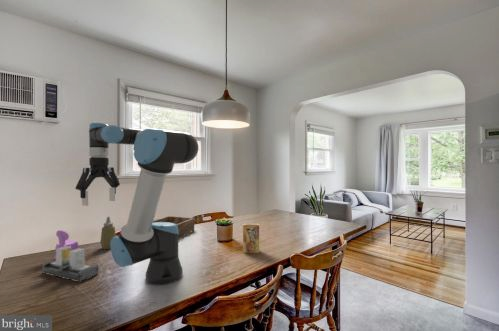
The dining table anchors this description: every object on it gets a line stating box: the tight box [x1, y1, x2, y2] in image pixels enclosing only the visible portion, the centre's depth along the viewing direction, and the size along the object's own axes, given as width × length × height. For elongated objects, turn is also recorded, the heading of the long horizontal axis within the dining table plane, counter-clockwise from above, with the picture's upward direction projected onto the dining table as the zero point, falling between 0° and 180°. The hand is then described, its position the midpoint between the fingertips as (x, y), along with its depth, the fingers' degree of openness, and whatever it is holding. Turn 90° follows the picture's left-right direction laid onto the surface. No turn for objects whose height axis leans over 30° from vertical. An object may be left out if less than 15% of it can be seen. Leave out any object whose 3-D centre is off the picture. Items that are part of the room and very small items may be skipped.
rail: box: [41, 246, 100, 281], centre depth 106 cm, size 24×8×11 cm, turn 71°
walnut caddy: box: [153, 215, 195, 239], centre depth 164 cm, size 22×31×9 cm
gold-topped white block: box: [69, 247, 91, 273], centre depth 104 cm, size 8×4×9 cm, turn 71°
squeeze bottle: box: [100, 216, 117, 250], centre depth 139 cm, size 8×8×18 cm
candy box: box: [242, 223, 260, 254], centre depth 133 cm, size 9×4×15 cm, turn 92°
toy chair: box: [53, 229, 79, 259], centre depth 125 cm, size 8×9×15 cm
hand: (99, 203), depth 111 cm, fingers open, 13 cm apart
